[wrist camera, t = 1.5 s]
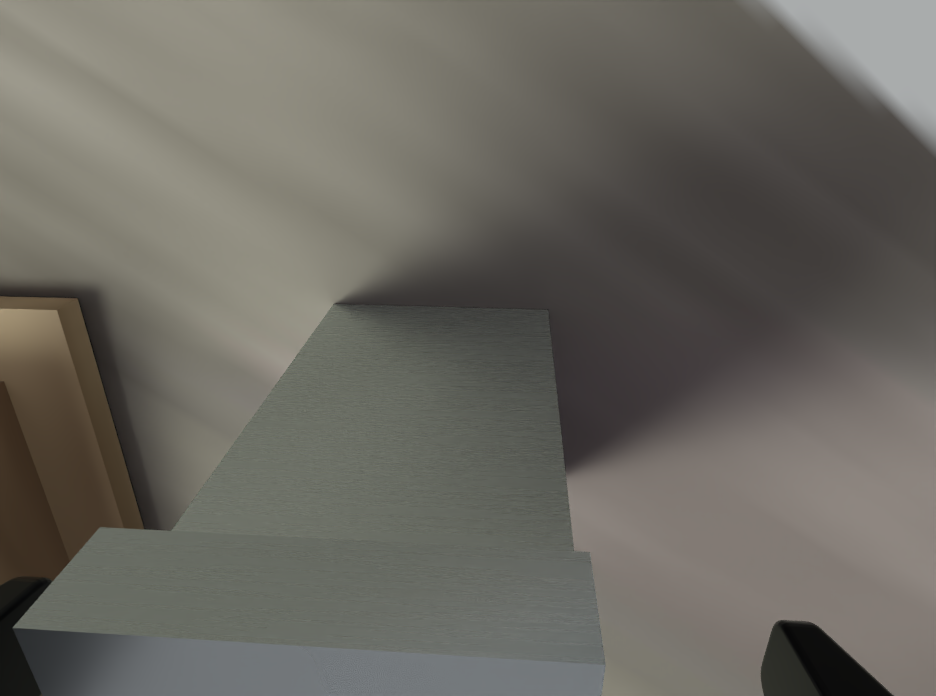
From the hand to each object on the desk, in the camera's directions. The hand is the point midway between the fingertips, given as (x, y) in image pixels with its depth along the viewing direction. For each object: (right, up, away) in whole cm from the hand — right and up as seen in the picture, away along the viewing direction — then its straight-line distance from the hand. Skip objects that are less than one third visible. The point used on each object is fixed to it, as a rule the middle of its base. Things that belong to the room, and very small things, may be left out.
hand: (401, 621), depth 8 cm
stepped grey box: (0, +2, +5) cm, 5 cm away
